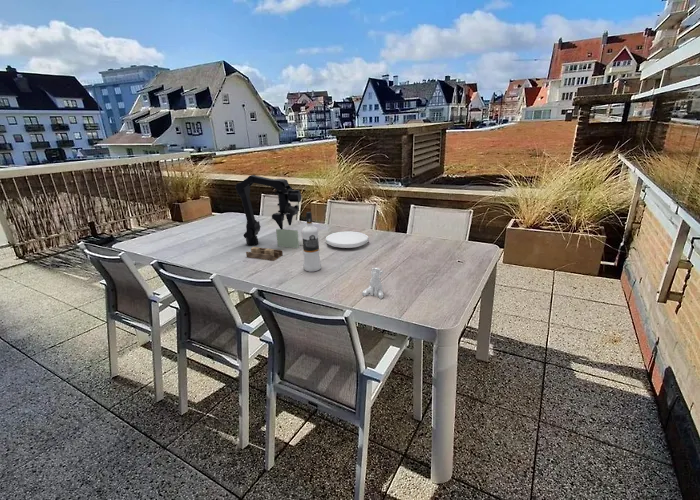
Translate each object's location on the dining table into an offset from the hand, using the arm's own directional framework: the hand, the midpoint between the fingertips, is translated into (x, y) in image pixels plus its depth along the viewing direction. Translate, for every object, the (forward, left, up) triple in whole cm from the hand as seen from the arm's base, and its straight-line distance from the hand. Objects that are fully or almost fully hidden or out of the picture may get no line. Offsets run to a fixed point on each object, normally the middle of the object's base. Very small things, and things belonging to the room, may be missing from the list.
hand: (285, 227), depth 208 cm
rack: (-3, -19, -13) cm, 23 cm away
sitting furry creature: (+69, -40, -13) cm, 81 cm away
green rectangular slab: (+1, -1, -12) cm, 12 cm away
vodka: (+30, -24, -13) cm, 41 cm away
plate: (+32, +18, -13) cm, 39 cm away
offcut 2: (+1, -21, -12) cm, 24 cm away
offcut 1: (-8, -21, -12) cm, 25 cm away
